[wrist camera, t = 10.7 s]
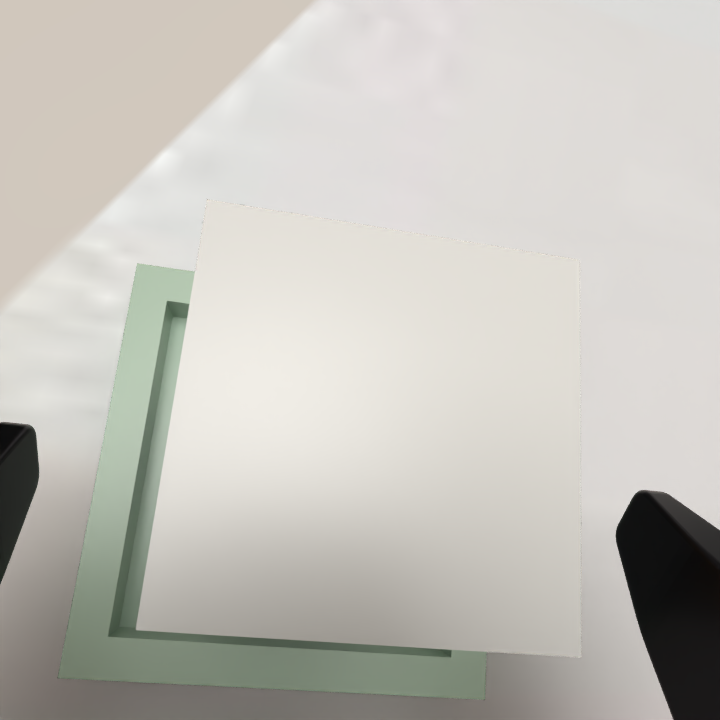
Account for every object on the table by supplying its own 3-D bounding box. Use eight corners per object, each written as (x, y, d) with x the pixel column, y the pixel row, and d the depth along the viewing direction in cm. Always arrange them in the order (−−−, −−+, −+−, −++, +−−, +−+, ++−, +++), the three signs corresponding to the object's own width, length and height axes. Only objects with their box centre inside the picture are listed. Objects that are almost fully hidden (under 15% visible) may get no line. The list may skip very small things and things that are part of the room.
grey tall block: (377, 572, 19) (585, 663, 7) (203, 558, 18) (129, 635, 7) (390, 405, 20) (583, 257, 9) (228, 385, 19) (202, 194, 8)
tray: (460, 681, 19) (484, 700, 17) (78, 660, 17) (57, 678, 15) (475, 333, 22) (497, 315, 20) (147, 287, 20) (137, 263, 18)
